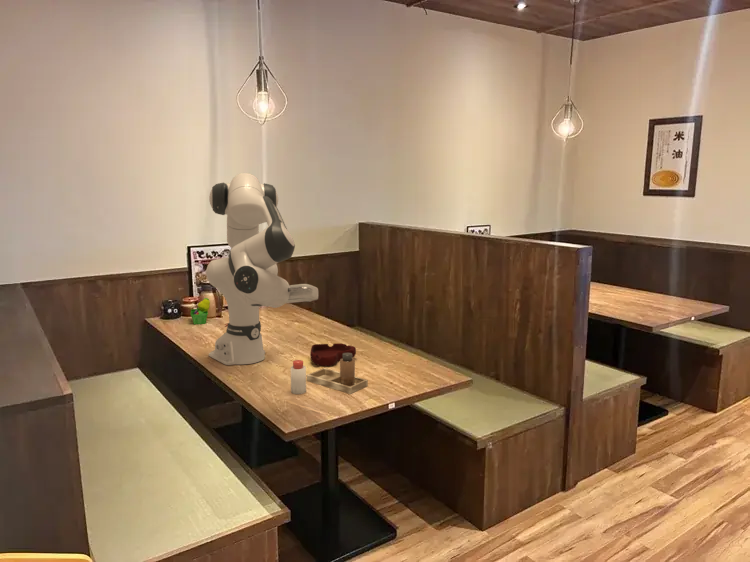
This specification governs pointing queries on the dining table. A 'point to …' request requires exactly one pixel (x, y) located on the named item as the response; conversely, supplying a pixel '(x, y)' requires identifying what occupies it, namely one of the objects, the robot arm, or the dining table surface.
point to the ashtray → (330, 353)
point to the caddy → (335, 380)
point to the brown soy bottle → (347, 370)
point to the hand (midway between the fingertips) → (295, 300)
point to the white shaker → (298, 377)
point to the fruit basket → (201, 312)
